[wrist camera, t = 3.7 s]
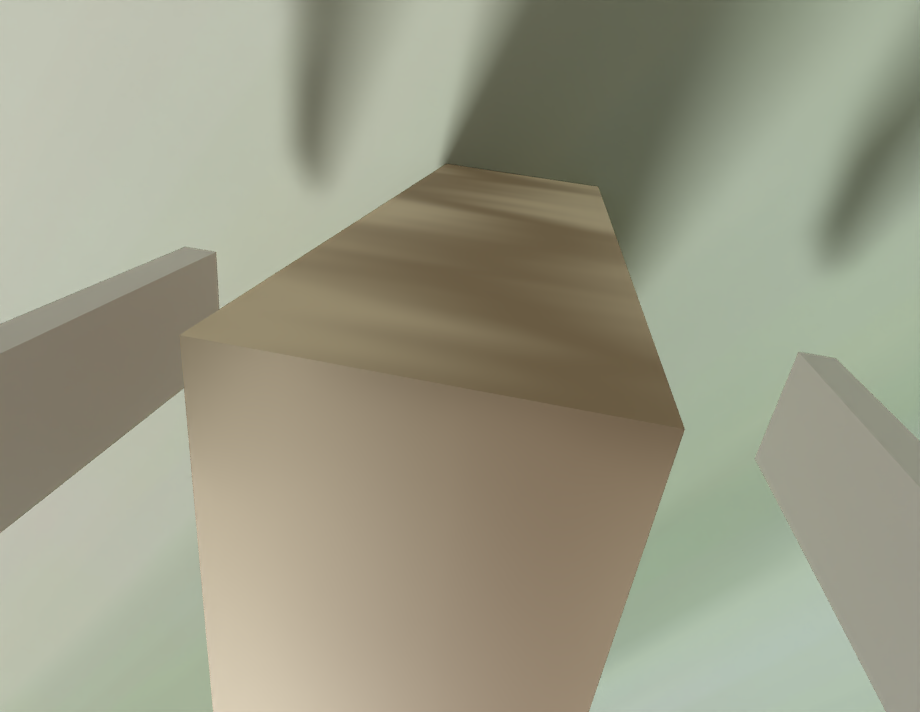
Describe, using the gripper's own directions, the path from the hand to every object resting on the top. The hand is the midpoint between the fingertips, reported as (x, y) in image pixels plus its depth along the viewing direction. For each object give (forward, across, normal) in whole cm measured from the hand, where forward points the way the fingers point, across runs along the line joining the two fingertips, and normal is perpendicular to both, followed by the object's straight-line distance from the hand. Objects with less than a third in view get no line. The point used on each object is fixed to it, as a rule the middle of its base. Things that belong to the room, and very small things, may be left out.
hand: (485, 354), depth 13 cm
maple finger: (+4, 0, 0) cm, 4 cm away
